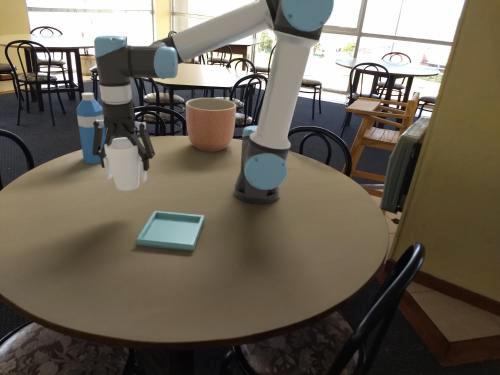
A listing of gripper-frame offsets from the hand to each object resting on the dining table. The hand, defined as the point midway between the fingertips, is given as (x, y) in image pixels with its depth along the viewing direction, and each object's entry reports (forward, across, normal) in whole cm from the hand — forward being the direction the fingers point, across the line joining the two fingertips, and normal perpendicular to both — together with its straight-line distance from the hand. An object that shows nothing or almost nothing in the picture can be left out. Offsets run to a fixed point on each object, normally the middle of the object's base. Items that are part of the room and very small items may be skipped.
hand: (127, 179), depth 106 cm
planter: (+11, -13, -59) cm, 61 cm away
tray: (+11, -15, +9) cm, 21 cm away
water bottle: (+10, +27, -35) cm, 45 cm away
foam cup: (+2, 0, 0) cm, 2 cm away
